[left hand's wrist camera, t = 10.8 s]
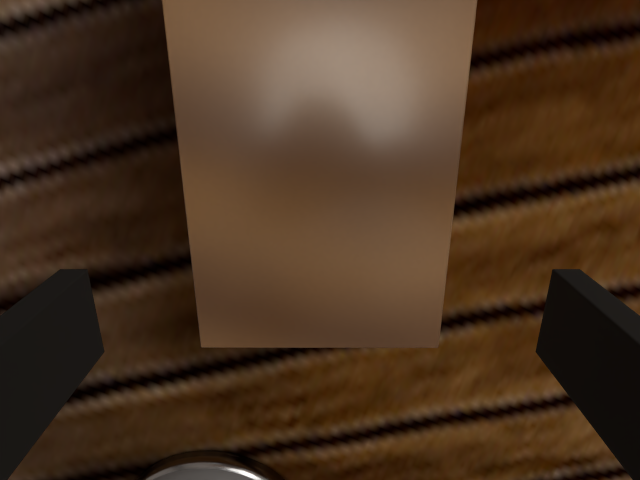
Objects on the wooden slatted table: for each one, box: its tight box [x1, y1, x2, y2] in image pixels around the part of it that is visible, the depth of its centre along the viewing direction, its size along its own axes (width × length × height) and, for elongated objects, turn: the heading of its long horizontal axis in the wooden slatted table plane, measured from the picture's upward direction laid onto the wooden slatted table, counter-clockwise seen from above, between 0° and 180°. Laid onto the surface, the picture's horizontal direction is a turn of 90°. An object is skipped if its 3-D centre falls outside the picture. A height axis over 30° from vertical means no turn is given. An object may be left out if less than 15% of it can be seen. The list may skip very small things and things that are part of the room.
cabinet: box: [162, 0, 477, 348], centre depth 21 cm, size 18×10×12 cm, turn 0°
